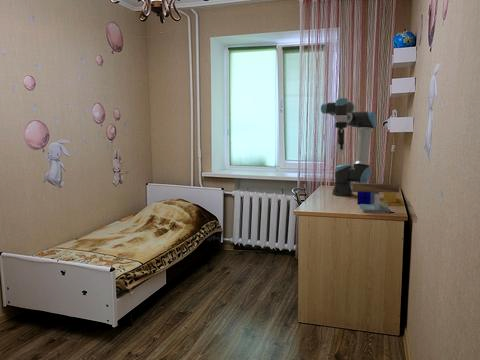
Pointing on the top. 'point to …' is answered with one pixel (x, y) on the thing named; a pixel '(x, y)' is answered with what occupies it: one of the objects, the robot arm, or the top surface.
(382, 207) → the slate base
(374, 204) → the steel ridge
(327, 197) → the top surface
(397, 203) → the dollhouse swing
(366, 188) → the walnut batten
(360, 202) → the puzzle cube
